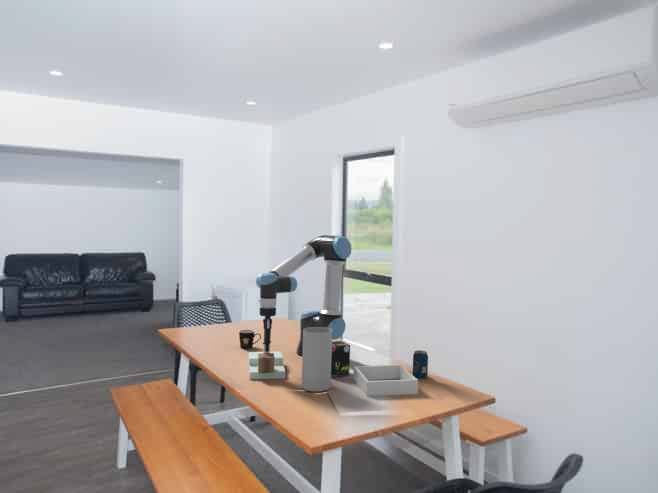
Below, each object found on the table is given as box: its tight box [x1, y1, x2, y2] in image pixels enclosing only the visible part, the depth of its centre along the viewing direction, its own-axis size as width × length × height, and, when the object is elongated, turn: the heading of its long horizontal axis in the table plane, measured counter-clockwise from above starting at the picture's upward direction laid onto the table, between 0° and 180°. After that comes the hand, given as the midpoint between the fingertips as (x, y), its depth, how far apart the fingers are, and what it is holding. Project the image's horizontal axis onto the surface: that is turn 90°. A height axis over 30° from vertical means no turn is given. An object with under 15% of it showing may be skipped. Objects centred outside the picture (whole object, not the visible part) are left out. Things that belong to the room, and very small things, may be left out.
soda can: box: [412, 349, 429, 380], centre depth 226 cm, size 7×7×12 cm
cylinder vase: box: [301, 327, 333, 393], centre depth 207 cm, size 12×12×25 cm
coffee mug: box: [238, 329, 262, 350], centre depth 269 cm, size 12×9×10 cm
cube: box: [258, 353, 274, 373], centre depth 219 cm, size 7×7×7 cm
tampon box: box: [331, 340, 351, 379], centre depth 227 cm, size 11×9×15 cm
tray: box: [352, 364, 419, 397], centre depth 211 cm, size 22×22×6 cm
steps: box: [247, 351, 286, 380], centre depth 229 cm, size 16×23×6 cm
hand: (266, 357), depth 223 cm, fingers closed
